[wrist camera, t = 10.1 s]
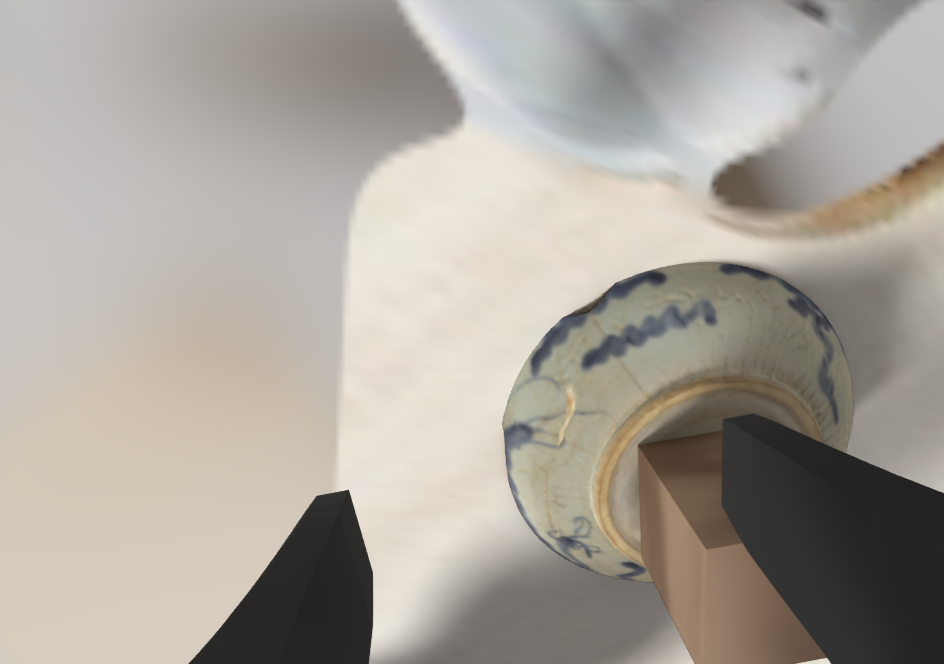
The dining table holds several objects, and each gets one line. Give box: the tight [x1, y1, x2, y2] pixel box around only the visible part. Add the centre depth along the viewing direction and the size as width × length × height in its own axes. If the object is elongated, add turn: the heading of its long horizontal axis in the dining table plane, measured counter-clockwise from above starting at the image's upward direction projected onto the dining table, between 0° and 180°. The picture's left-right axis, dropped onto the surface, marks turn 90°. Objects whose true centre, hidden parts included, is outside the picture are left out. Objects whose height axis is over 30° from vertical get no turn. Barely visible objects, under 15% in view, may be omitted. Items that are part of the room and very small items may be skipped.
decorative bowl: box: [502, 263, 854, 582], centre depth 23 cm, size 15×4×15 cm
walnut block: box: [638, 421, 827, 664], centre depth 19 cm, size 5×5×5 cm
